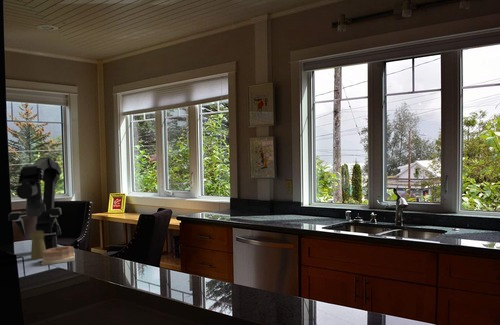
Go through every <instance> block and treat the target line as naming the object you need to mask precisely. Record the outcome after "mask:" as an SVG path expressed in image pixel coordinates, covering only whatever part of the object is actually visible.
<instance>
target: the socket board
mask: <svg viewBox="0 0 500 325" xmlns="http://www.w3.org/2000/svg"><path fill="white" fill-rule="evenodd" d="M74 251H75V249H74V246H71V245H65V246H63V245H62V246H59V247H55V248H51V249H47V250H44V251H43V259H42V261H41V266H47V265H48V266H49V265H56V264H60V263H61V264H62V263H67V262H68V263H69V262H74V261H75V257H76V256H75V255H76V254H75V252H74Z"/></svg>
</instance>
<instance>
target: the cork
mask: <svg viewBox="0 0 500 325" xmlns="http://www.w3.org/2000/svg"><path fill="white" fill-rule="evenodd" d="M29 237H30V240H31V253H30V260H32V261H35V260H43V251H44V250H46V248H45V244H44V239H43V238H44V232H43V231H42V230H36V229H35V230H33V231H31V232H30V234H29Z"/></svg>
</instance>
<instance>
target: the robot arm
mask: <svg viewBox="0 0 500 325" xmlns="http://www.w3.org/2000/svg"><path fill="white" fill-rule="evenodd" d="M61 175H62V170H61V167H60V164H59V163H58V162H56V161H54V160H52V157H49V156H48V157H46V156H45V157H40V158H37V160H36V161H35V162H34V163H33V164H29V165H23V166H22V167H21V169H20V172H19V178H18V187H17V188H16V195H17V197H18V198H20V199H23V200H25V201H26V205H25V212H21V211H13V212H10V213H9V214H8V215H7V219H8V222H12V223H15V225H17V226H18V228H19V230H20V232H21V234H22V236H23V238H25V237H26V231H25V230H26V229H25V224H24V219H25V218H31V217H36V223H35V231H36V230H42V231H43V232H44V238H43V239H44V244H45V248H46V250H47V249H51V248H55V247H60V246H58V239H57V238H58V236H61V235H62V230H61V227H60V225H59V222H58V219H57V218H58V217H59V216H61V215H62V208H61V207H55V200H56V199H55V194H56V184H57V183H58V182H59V181H60V179H61V178H60V176H61ZM42 181H43V192H42ZM42 194H43V195H42ZM23 218H24V219H23Z"/></svg>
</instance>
